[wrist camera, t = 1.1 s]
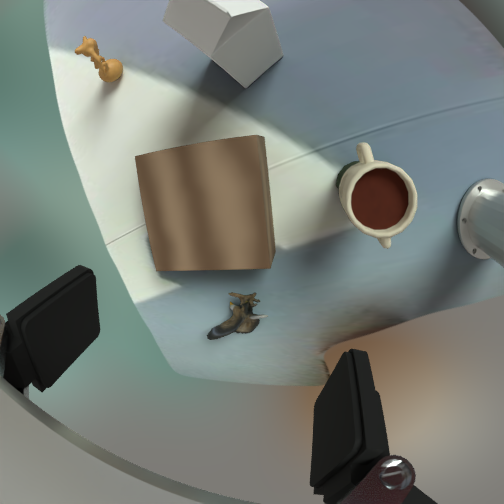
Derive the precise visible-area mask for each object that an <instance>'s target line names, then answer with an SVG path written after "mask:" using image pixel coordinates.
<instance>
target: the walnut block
mask: <svg viewBox="0 0 504 504" xmlns="http://www.w3.org/2000/svg"><path fill="white" fill-rule="evenodd" d="M135 160H136V168H137V174H138V181H139V187H140V193H141V199H142V205H143V210H144V216H145V221H146V226H147V231H148V236H149V241H150V245H151V250H152V254H153V259H154V263H155V267H156V271H186V270H234V269H270V268H271V265H272V262H273V258H274V255H275V252H276V250H275V238H274V227H273V217H272V206H271V196H270V186H269V176H268V167H267V157H266V148H265V139H264V137H262V136H259V135H251V136H243V137H235V138H228V139H221V140H215V141H208V142H202V143H197V144H191V145H186V146H180V147H175V148H170V149H165V150H161V151H156V152H152V153H147V154H143V155H139V156H135Z"/></svg>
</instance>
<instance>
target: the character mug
mask: <svg viewBox="0 0 504 504" xmlns="http://www.w3.org/2000/svg"><path fill="white" fill-rule="evenodd" d="M356 150H357V154H358V158H359V161H354V162H352V163H350V164H347V165H345V166H344V167H343V169H342V170H341V171H340V173H339V174H338V177H337V182H336V186H337V187H338V188H339V197H340V201H341V204H342V207H343V209H344V210H345V212H346V214H347V215H348V217H349V219H350V221H351V222H352V223H353V224H354V225H355V226H356V227H357V228H358V229H359V230H360V231H361V232H363V233H364V234H367V235H370V236H372V237H375V238H377V239H378V241H379V242H380V244H381V245H382V246H383V248H387V249H388V248H389V247H391V238H390V237H393V236H395V235H397V234H399V233H401V232H403V231H404V229H405V228H406V227H407V226H408V225H409V224H410V223H411V222H412V220H413V217H414V215H415V212H416V210H417V191H416V189H415V186H414V184H413V181H412V179H411V178H410V177H409V176H408V175H407V174H406V173H405V172H404V171H403V170H402V169H401V168H399V167H397V166H394V165H392V164H390V163H387V162H382V161H377V160H374V158H373V155H372V151H371V148H370V146H369V145H368V144H367V143H359V144H358V145H357V148H356Z"/></svg>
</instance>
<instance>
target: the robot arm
mask: <svg viewBox="0 0 504 504" xmlns="http://www.w3.org/2000/svg"><path fill="white" fill-rule="evenodd" d="M462 219H463V220H462ZM457 224H458V233H459V238H460V240H461V243H462V245H463V247H464V248H465V249H466V250H467V252H468V253H470V254H471V255H472V256H474V257H476V258H478V259H489V258H492V259H494V260H495V261H496V262H497V263H499V264H500V265H501V266H503V267H504V184H503V183H501V182H500V181H498V180H494V179H482V180H480V181H478V182H476V183H475V184H473V185H472V186H471V187H470V188H469V189H468V191H467V192H466V194H465V195H464V197H463V199H462V202H461V204H460V208H459V212H458V220H457ZM98 314H99V313H98V303H97V290H96V277H95V275H94V274H93V271H92V270H91V269H89V268H86V267H84V266H81V265H78V266H76V267H75V268H73V269H71V270H70V271H68V272H67V273H65V274H64V275H62V276H61V277H59V278H58V279H56V280H54V281H53V282H51V283H50V284H48V285H47V286H46V287H44V288H43V289H41V290H40V291H38V292H37V293H35V294H34V295H32V296H31V297H29V298H28V299H27V300H25V301H24V302H23V303H21V304H19V305H18V306H17V307H15V308H14V309H13V310H11V311H10V312H8V313H7V314H6V315H7V318H8V321H7V322H6V323H5V320H4V318H3V317H2V316H1V315H0V504H259V503H253V502H249V501H244V500H240V499H235V498H230V497H227V496H223V495H219V494H215V493H212V492H208V491H205V490H201V489H198V488H195V487H192V486H188V485H186V484H183V483H180V482H177V481H174V480H172V479H169V478H166V477H164V476H161V475H159V474H156V473H154V472H152V471H149V470H147V469H145V468H142V467H140V466H138V465H136V464H133V463H131V462H129V461H127V460H125V459H123V458H121V457H119V456H117V455H115V454H113V453H111V452H109V451H107V450H105V449H103V448H101V447H100V446H98V445H96V444H94V443H93V442H91V441H89V440H87V439H86V438H84V437H82V436H81V435H79V434H78V433H76V432H74V431H73V430H71V429H70V428H68V427H67V426H65V425H63V424H62V423H60V422H59V421H57V420H56V419H54V418H53V417H52V416H50V415H49V414H47V413H46V412H45V411H43V410H42V409H41V408H39V407H38V406H37V405H35V404H34V403H33V402H32V401H30V400H29V396H28V395H29V384H30V383H31V382H32V384H33V386H34V387H36V388H37V389H38V390H40V391H41V392H43V391H44V390H45V389H46V388H49V387H51V386H52V385H53V384H54V383H55V382H56V381H57V379H58V378H59V377H60V376H61V375H62V374H63V373H64V372H65V371H66V370H67V369H68V367H69V366H70V365H71V364H72V363H73V362H74V361H75V360H76V359H77V358H78V357H79V356H80V355H81V354H82V353H83V352H84V351H85V349H86V348H87V347H88V346H89V345H90V344H91V343H92V342H93V341H94V340H95V339H96V338H97V337H98V335H99V333H100V323H99V315H98ZM310 474H311V475H310V486H312V487H314V494H318V495H324V499H323V501H324V504H437V503H436V502H435V501H433V500H432V499H431V498H430V497H428V496H427V495H425V494H424V493H423V492H422V491H421V490H419V489H418V488H417V487H416V486H414V483H415V477H416V474H415V470H414V468H413V466H412V464H411V463H410V462H409V461H408V460H407V459H405V458H403V457H401V456H397V455H390V453H389V446H388V439H387V433H386V427H385V421H384V415H383V410H382V405H381V400H380V395H379V393H378V392H377V391H375V386H374V381H373V376H372V371H371V367H370V362H369V358H368V354H367V352H366V351H360V350H356V349H350V350H349V352H344V353H343V354H342V356H341V358H340V360H339V361H338V363H337V365H336V367H335V369H334V371H333V372H332V374H331V376H330V378H329V379H328V381H327V383H326V385H325V386H324V388H323V390H322V391H321V393H320V395H319V396H318V398H317V400H316V402H315V406H314V423H313V443H312V461H311V473H310Z"/></svg>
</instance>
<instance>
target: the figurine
mask: <svg viewBox="0 0 504 504" xmlns="http://www.w3.org/2000/svg"><path fill="white" fill-rule="evenodd" d="M75 53H76V54H77V55H79V54H83V55H85V56H87V57H89V56H90V57H91V62H94V65H95V68H96V69H98V68H99V76H100V78H101V79H102V80H103V81H105V82H113V81H115V80H117V79H118V78H119V77H120V76H121V74H122V72H123V66H122V63H121V62H120V61H119V60H117V59H109V60H106V61H105V59H104V57H102V56H99V49H98V46H97V42H96V41H95V40H94V39H92V38H89V39H87V38H86V36H84V37H83V43H82V45H80V46H79V47H78V48H76V49H75ZM101 60H102V62H101Z"/></svg>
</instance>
